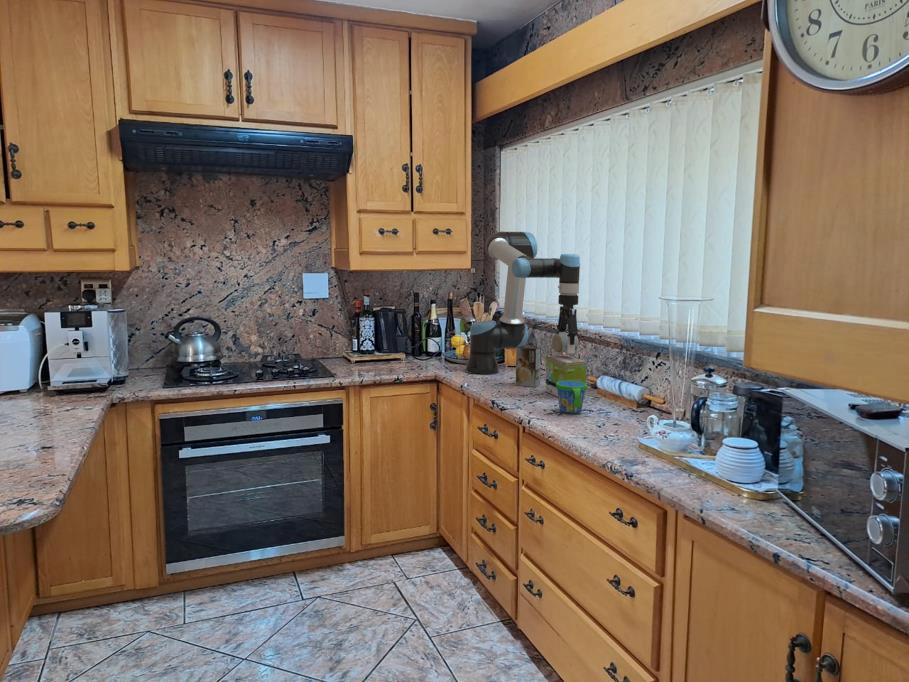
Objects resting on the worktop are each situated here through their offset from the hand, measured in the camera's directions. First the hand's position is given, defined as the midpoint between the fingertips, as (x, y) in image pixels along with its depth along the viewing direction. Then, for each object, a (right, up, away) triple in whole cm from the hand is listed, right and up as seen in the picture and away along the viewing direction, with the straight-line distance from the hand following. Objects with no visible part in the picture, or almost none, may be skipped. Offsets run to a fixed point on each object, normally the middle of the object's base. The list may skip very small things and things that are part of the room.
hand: (566, 350), depth 258 cm
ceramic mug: (0, -1, 0) cm, 1 cm away
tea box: (0, -18, +2) cm, 18 cm away
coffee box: (-13, -15, +21) cm, 28 cm away
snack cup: (-3, -21, -25) cm, 33 cm away
